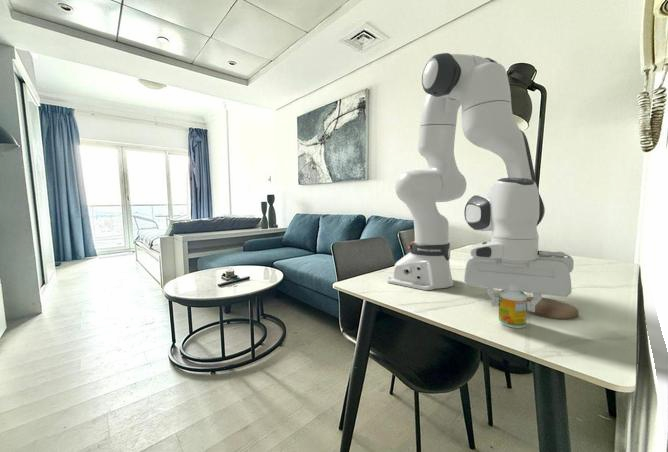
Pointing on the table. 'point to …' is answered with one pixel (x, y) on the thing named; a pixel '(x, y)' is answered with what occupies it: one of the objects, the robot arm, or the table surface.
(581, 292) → the table surface
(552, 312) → the walnut coaster
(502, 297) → the supplement bottle
